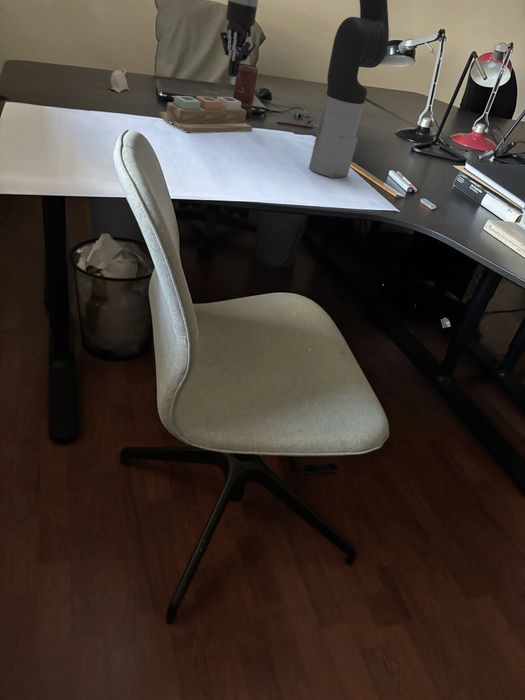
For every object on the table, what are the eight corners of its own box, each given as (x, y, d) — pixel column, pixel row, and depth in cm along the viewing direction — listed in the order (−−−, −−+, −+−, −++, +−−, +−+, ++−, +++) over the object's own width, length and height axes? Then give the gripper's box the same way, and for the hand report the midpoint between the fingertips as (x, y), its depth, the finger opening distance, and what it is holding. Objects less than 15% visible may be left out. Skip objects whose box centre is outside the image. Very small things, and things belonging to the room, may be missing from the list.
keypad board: (251, 131, 149) (254, 114, 146) (186, 133, 135) (188, 114, 133) (223, 115, 156) (225, 100, 154) (158, 116, 143) (159, 98, 140)
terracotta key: (220, 111, 144) (221, 101, 142) (205, 111, 141) (206, 100, 139) (210, 106, 146) (211, 95, 145) (195, 106, 143) (196, 95, 142)
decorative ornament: (106, 89, 156) (106, 70, 153) (120, 86, 163) (120, 67, 159) (118, 93, 155) (118, 73, 152) (131, 89, 162) (132, 70, 159)
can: (248, 120, 158) (256, 69, 149) (228, 115, 158) (235, 64, 150) (253, 116, 163) (261, 67, 154) (233, 111, 163) (240, 62, 155)
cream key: (240, 111, 148) (241, 101, 146) (226, 111, 145) (227, 101, 143) (229, 106, 151) (231, 96, 149) (215, 106, 148) (217, 96, 146)
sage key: (199, 111, 139) (200, 100, 138) (183, 111, 137) (184, 100, 135) (189, 106, 142) (190, 95, 141) (173, 105, 139) (174, 95, 138)
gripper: (270, 8, 131) (257, 83, 141) (239, -2, 138) (229, 69, 149) (247, 5, 127) (236, 82, 137) (216, -6, 134) (207, 68, 144)
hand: (232, 75), depth 143 cm, fingers closed
